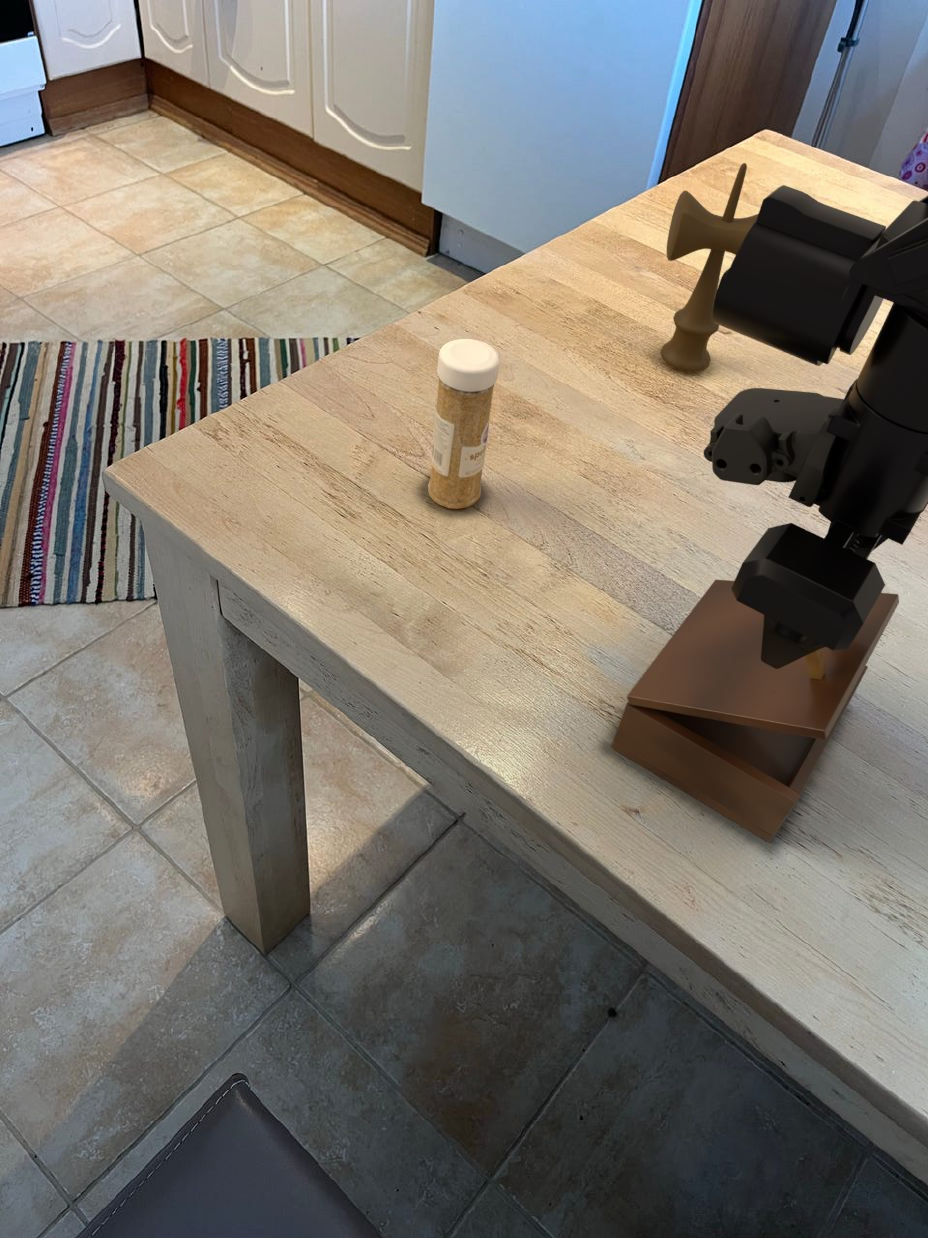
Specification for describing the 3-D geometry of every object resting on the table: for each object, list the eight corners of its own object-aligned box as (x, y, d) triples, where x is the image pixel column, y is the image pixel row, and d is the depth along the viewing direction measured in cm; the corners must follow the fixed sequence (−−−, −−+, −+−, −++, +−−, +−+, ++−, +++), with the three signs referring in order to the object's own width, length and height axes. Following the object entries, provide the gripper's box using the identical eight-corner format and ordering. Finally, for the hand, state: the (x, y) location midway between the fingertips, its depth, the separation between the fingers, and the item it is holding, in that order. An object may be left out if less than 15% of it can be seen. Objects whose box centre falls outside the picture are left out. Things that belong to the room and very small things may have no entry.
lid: (899, 602, 60) (894, 542, 58) (826, 740, 52) (816, 676, 50) (717, 587, 68) (706, 533, 66) (628, 704, 60) (612, 647, 58)
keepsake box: (840, 708, 68) (868, 666, 64) (769, 843, 60) (796, 803, 56) (696, 631, 72) (714, 587, 68) (610, 747, 64) (626, 704, 60)
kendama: (637, 339, 100) (689, 140, 85) (729, 354, 99) (796, 158, 84) (636, 370, 95) (690, 167, 81) (731, 386, 95) (802, 185, 80)
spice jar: (481, 512, 78) (502, 372, 69) (426, 509, 78) (439, 368, 68) (479, 477, 82) (498, 337, 72) (426, 474, 81) (438, 333, 71)
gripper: (824, 271, 54) (738, 485, 65) (681, 416, 43) (608, 643, 54) (1022, 347, 50) (894, 559, 61) (923, 527, 39) (789, 745, 50)
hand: (798, 618), depth 57 cm, fingers open, 9 cm apart
